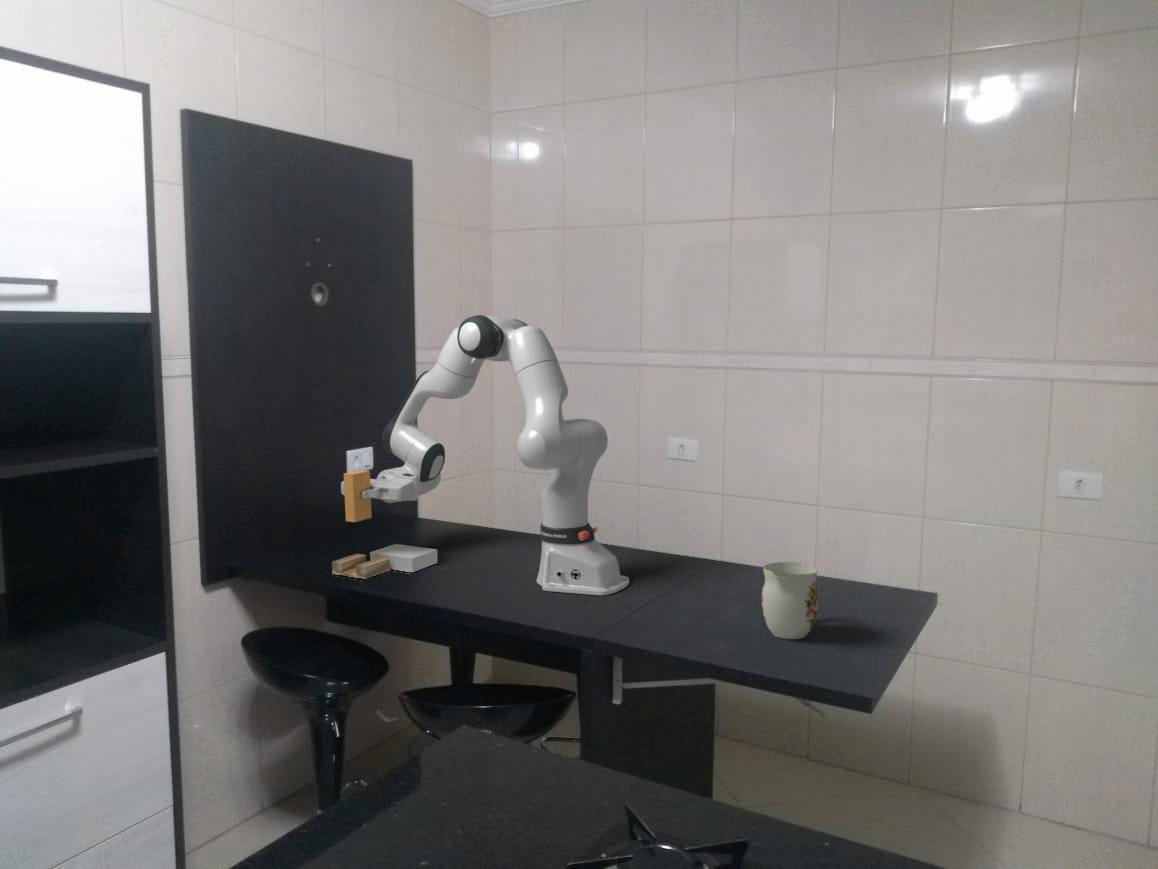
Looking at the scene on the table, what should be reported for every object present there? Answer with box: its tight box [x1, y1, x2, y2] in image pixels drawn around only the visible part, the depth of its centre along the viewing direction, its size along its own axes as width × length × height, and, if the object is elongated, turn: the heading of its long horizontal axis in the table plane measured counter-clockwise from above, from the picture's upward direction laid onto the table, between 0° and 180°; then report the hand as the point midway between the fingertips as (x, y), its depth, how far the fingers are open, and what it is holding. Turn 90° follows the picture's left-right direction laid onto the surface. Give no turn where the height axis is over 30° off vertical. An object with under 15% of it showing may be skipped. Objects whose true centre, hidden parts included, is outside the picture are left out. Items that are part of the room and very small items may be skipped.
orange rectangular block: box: [343, 469, 373, 523], centre depth 219 cm, size 3×6×12 cm, turn 151°
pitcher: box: [760, 561, 820, 640], centre depth 173 cm, size 11×18×14 cm, turn 152°
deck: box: [369, 543, 439, 573], centre depth 228 cm, size 14×10×4 cm
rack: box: [331, 553, 391, 579], centre depth 221 cm, size 11×9×4 cm
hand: (355, 494), depth 218 cm, fingers closed on orange rectangular block, 3 cm apart
